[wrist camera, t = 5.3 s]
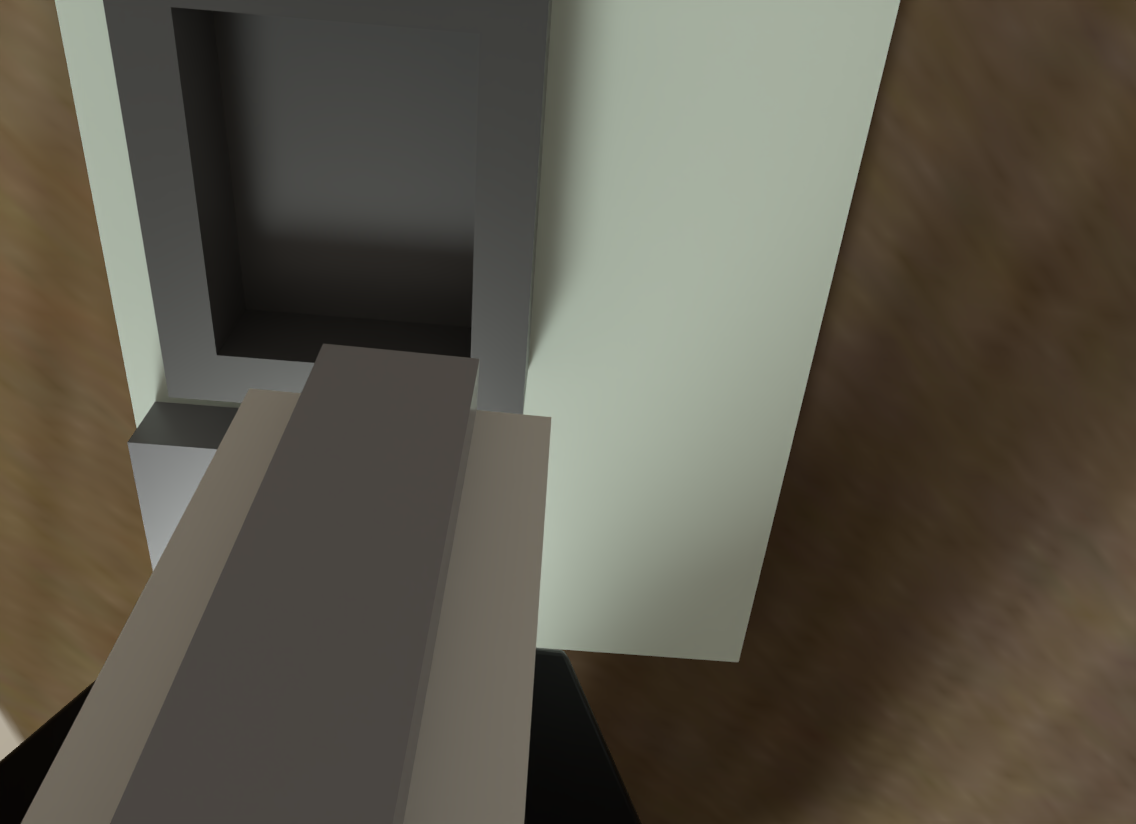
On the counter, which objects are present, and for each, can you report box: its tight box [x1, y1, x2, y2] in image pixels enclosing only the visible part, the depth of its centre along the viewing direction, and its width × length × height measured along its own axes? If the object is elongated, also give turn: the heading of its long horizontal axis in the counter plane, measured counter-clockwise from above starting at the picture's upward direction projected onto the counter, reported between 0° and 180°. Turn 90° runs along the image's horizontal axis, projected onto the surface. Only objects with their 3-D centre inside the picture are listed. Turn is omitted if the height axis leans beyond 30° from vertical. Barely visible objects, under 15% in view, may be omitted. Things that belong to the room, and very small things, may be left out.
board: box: [55, 0, 900, 662], centre depth 20 cm, size 18×14×3 cm
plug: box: [21, 344, 552, 824], centre depth 9 cm, size 5×3×6 cm, turn 175°
